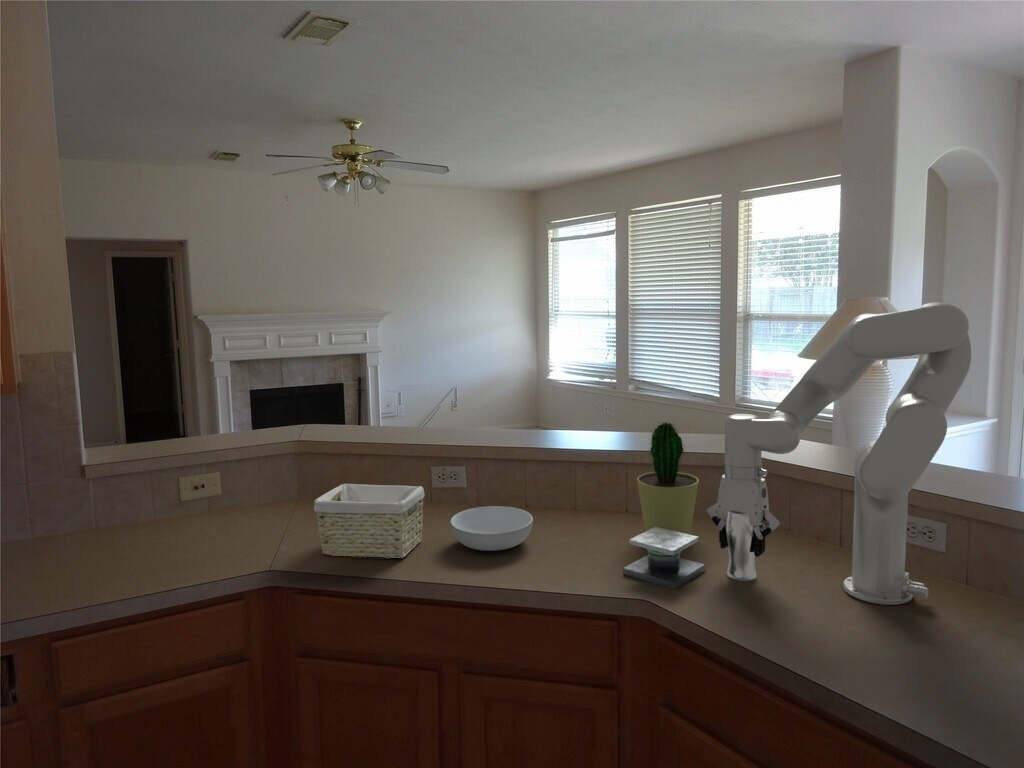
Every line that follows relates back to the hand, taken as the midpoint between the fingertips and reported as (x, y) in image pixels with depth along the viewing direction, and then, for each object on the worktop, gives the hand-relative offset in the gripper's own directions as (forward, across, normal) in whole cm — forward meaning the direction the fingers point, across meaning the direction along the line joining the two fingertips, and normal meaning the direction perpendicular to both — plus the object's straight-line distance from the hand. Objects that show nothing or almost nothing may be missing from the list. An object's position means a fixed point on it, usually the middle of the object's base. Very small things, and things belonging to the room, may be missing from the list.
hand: (741, 550), depth 155 cm
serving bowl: (+6, +57, +20) cm, 61 cm away
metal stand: (+6, +14, +9) cm, 18 cm away
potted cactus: (+6, +26, -13) cm, 30 cm away
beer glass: (+6, 0, 0) cm, 6 cm away
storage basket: (+6, +79, +41) cm, 89 cm away
